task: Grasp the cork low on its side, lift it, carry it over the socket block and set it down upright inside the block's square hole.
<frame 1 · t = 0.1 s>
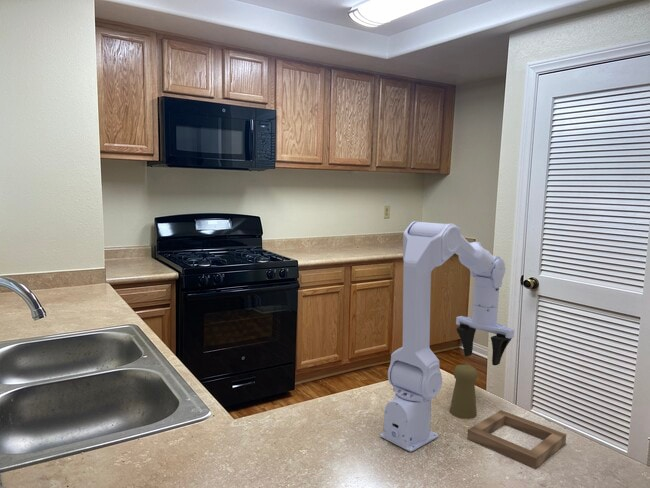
hand: (481, 359, 116), 10 cm above the countertop, tool pointing down, fingers open, 7 cm apart
socket block: (516, 441, 97), on the countertop
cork: (463, 413, 109), on the countertop
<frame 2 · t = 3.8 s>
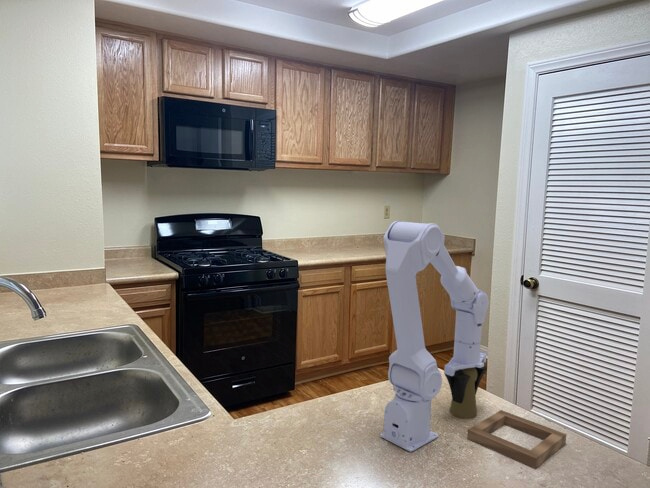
hand: (463, 398, 109), 3 cm above the countertop, tool pointing down, fingers closed on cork, 5 cm apart
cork: (463, 413, 109), on the countertop, touching gripper
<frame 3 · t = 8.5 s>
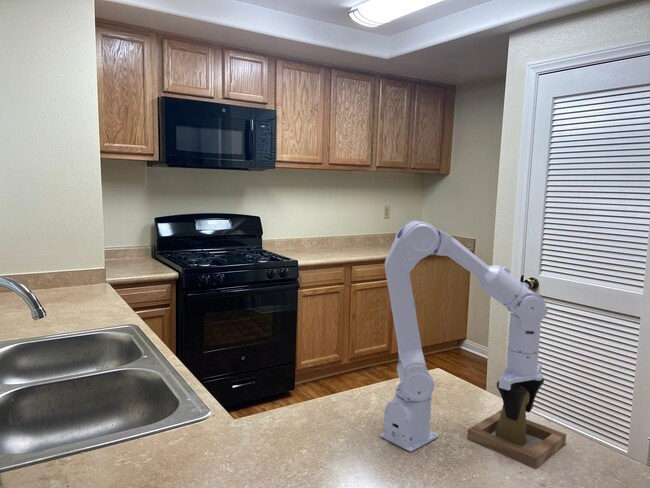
hand: (518, 414, 97), 6 cm above the countertop, tool pointing down, fingers closed on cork, 5 cm apart
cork: (510, 438, 98), on the countertop, touching gripper
when the fingers open (4 cm above the countertop, at t = 9.5 s): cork stays where it is, on the countertop.
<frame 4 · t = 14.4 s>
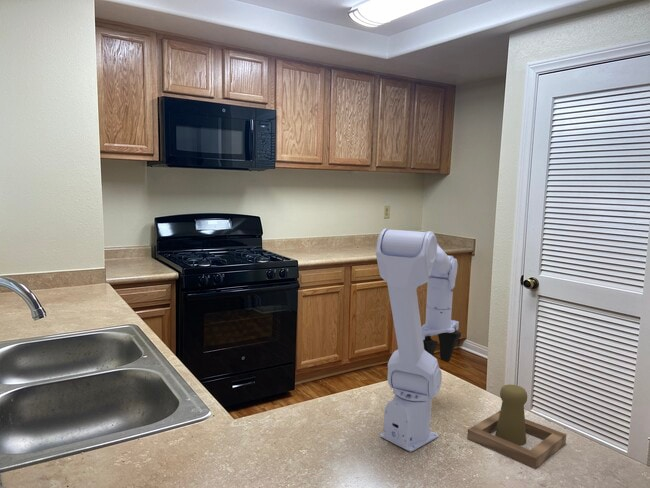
hand: (435, 364, 111), 10 cm above the countertop, tool pointing down, fingers open, 7 cm apart
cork: (510, 439, 98), on the countertop
at the end: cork 1.3 cm off-centre on the socket block, point 0.0 cm above the socket block's base; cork tilted 0°; the gripper is holding nothing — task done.
